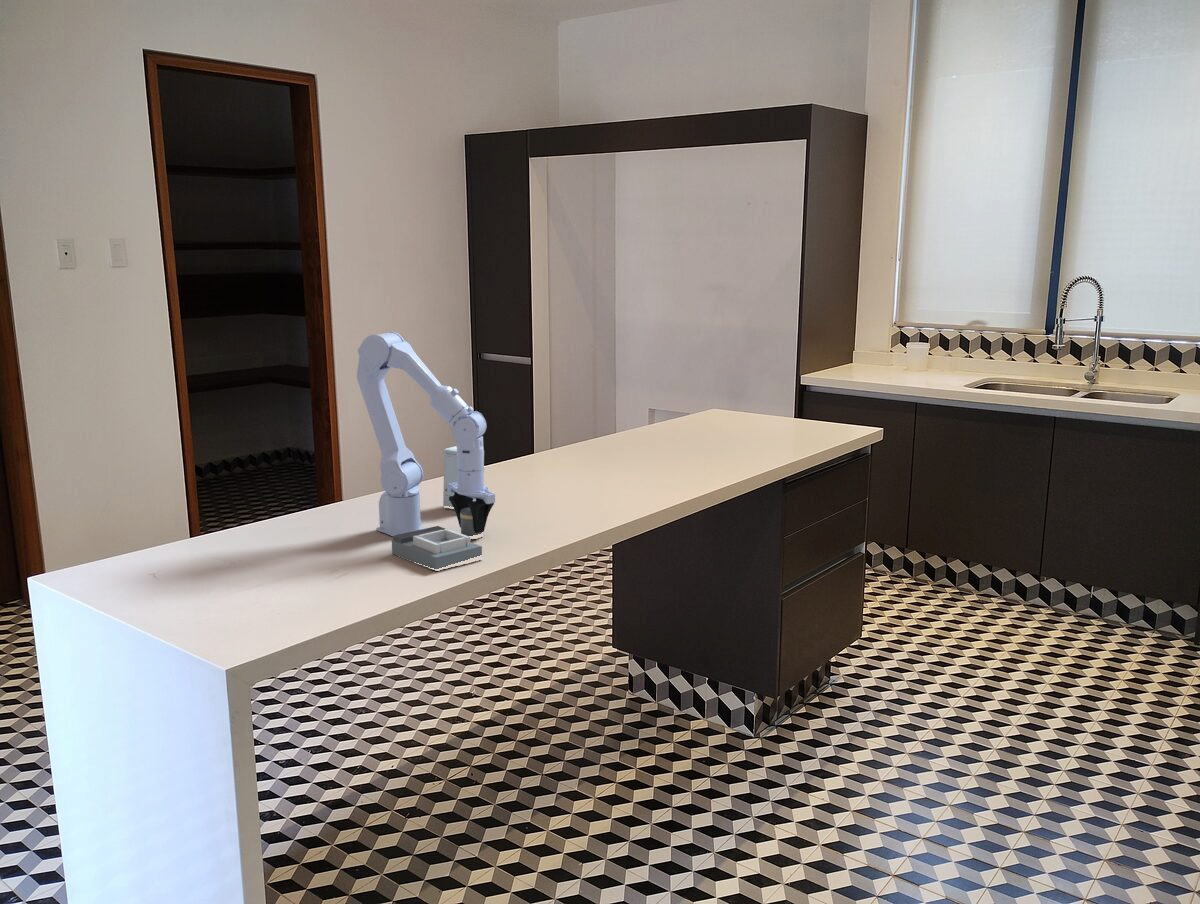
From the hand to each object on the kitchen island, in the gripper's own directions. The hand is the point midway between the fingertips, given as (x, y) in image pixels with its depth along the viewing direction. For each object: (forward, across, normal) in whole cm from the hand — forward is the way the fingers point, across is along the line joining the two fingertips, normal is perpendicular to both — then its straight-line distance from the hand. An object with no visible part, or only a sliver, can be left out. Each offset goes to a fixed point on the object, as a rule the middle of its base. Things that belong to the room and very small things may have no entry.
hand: (471, 529), depth 211 cm
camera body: (+2, -7, +14) cm, 16 cm away
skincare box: (+2, +21, -13) cm, 25 cm away
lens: (+2, 0, 0) cm, 2 cm away
